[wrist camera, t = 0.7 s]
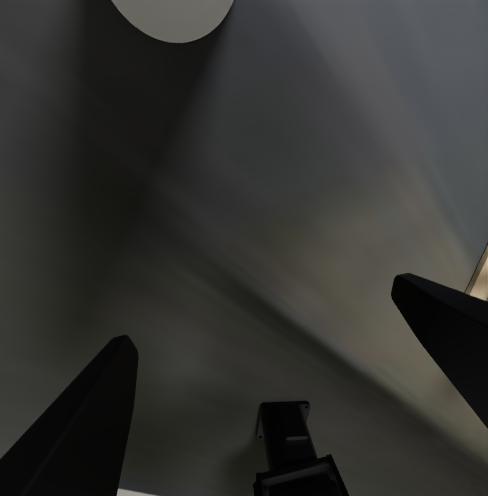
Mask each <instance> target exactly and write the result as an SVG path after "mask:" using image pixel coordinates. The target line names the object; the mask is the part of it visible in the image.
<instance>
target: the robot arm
mask: <svg viewBox="0 0 488 496" xmlns="http://www.w3.org/2000/svg"><path fill="white" fill-rule="evenodd" d="M391 297H392V300H393V301H394V303H395V305H396V306H397V308H398V309H399V311H400V312H401V314H402V316H403V317H404V319H405V320H406V322H407V323H408V325H409V326H410V328H411V330H412V331H413V333H414V334H415V336H416V337H417V339H418V340H419V341H420V343H421V344H422V345H423V347H424V348H425V349H426V351H427V352H428V353H429V354H430V356H431V357H432V358H433V360H434V361H435V362H436V363H437V365H438V366H439V367H440V368H441V370H442V371H443V372H444V374H445V375H446V376H447V377H448V379H449V380H450V381H451V382H452V384H453V385H454V386H455V388H456V389H457V390H458V391H459V393H460V394H461V395H462V396H463V398H464V399H465V400H466V402H467V403H468V404H469V405H470V407H471V408H472V409H473V410H474V412H475V413H476V414H477V416H478V417H479V418H480V419H481V421H482V422H483V423H484V424H485V426H486V427H487V428H488V301H485V300H482V299H480V298H477V297H474V296H471V295H469V294H466V293H463V292H460V291H458V290H455V289H452V288H449V287H447V286H444V285H441V284H438V283H436V282H433V281H430V280H427V279H425V278H422V277H419V276H416V275H414V274H411V273H405V274H400V275H397V276H396V277H395V278H394V282H393V287H392V291H391ZM137 368H138V351H137V349H136V347H135V346H134V344H133V342H132V341H131V339H130V338H129V336H127V335H122V336H118V337H114V338H113V339H111V340H110V341H109V343H108V344H107V345H106V346H105V347H104V348H103V349H102V350H101V351H100V352H99V353H98V354H97V355H96V357H95V358H94V359H93V360H92V361H91V362H90V363H89V364H88V365H87V366H86V367H85V368H84V369H83V371H82V372H81V373H80V374H79V375H78V376H77V377H76V378H75V379H74V380H73V381H72V382H71V384H70V385H69V386H68V387H67V388H66V389H65V390H64V391H63V392H62V393H61V394H60V395H59V396H58V398H57V399H56V400H55V401H54V402H53V403H52V404H51V405H50V406H49V407H48V408H47V409H46V410H45V412H44V413H43V414H42V415H41V416H40V417H39V418H38V419H37V420H36V421H35V422H34V423H33V424H32V426H31V427H30V428H29V429H28V430H27V431H26V432H25V433H24V434H23V435H22V436H21V437H20V439H19V440H18V441H17V442H16V443H15V444H14V445H13V446H12V447H11V448H10V449H9V450H8V451H7V453H6V454H5V455H4V456H3V457H2V458H1V459H0V496H117V491H118V485H119V480H120V475H121V470H122V465H123V460H124V455H125V450H126V445H127V439H128V434H129V429H130V424H131V419H132V414H133V408H134V400H135V390H136V379H137ZM309 410H310V404H309V402H308V401H300V402H272V403H263V404H261V408H260V414H259V420H258V426H257V433H256V436H257V439H259V440H261V439H264V442H265V448H266V454H267V460H268V466H269V471H268V472H264V473H261V472H259V473H256V482H255V483H254V484H253V488H254V496H349V494H348V492H347V489H346V487H345V485H344V483H343V480H342V478H341V476H340V474H339V471H338V469H337V467H336V465H335V462H334V460H333V458H332V455H331V454H330V455H326V457H322V458H317V455H316V452H315V449H314V446H313V443H312V440H311V437H310V434H309V431H308V428H307V425H306V421H307V418H308V414H309Z"/></svg>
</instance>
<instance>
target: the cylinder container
mask: <svg viewBox="0 0 488 496" xmlns="http://www.w3.org/2000/svg"><path fill="white" fill-rule="evenodd" d="M233 1H234V0H112V2H113V3H114V5H115V6H116V8H117V9H118V10H119V11H120V13H121V14H122V15H123V16H124V17H125V18H126V19H127V20H128V21H129V22H130V23H131V24H132V25H134V26H135V27H136V28H138V29H139V30H140V31H142V32H143V33H145V34H147V35H149V36H151V37H153V38H155V39H158V40H161V41H165V42H170V43H186V42H191V41H194V40H197V39H200V38H202V37H204V36H205V35H207V34H209V33H210V32H211V31H213V30H214V29H215V28H216V27H217V26H218V25H219V24H220V23H221V22H222V20H223V19H224V18H225V16H226V15H227V13H228V11H229V10H230V8H231V5H232V3H233Z"/></svg>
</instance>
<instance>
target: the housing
mask: <svg viewBox="0 0 488 496" xmlns="http://www.w3.org/2000/svg"><path fill="white" fill-rule="evenodd" d="M465 293H466V294H469V295H471V296H474V297H477V298H480V299H482V300H485V301H488V246H487V248H486V250H485V252H484V254H483V256H482V258H481V260H480V263H479V265H478V267H477V269H476V271H475V273H474V275H473V277H472V279H471V282H470V284H469V286H468V288H467V290H466V292H465Z"/></svg>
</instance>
